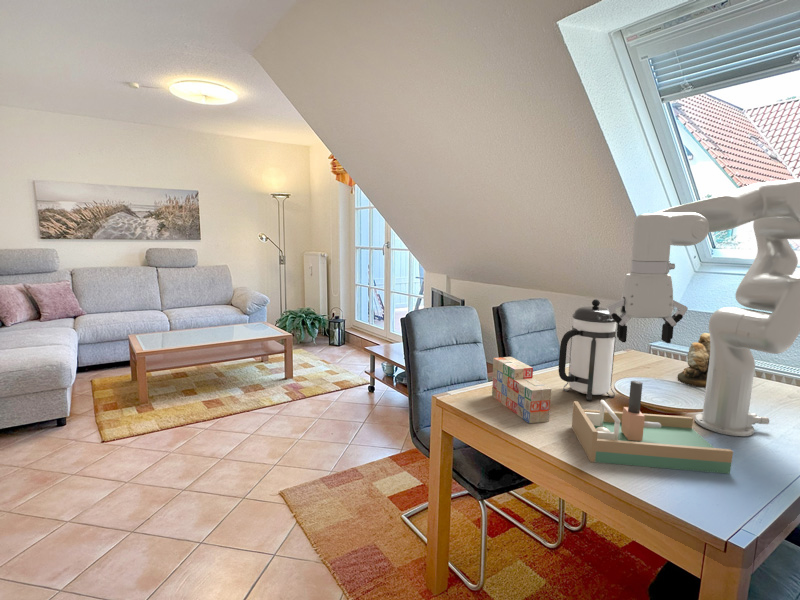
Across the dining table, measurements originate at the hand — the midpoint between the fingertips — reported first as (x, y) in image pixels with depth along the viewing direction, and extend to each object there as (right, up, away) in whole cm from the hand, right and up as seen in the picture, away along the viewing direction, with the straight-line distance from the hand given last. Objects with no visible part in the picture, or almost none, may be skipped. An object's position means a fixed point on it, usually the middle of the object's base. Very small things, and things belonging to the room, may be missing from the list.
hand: (643, 341), depth 104 cm
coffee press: (+1, -20, +35) cm, 40 cm away
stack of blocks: (-23, -22, +24) cm, 39 cm away
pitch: (0, -25, 0) cm, 25 cm away
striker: (-1, -22, 0) cm, 22 cm away
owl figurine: (+47, -19, +51) cm, 72 cm away
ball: (-9, -22, +1) cm, 24 cm away
